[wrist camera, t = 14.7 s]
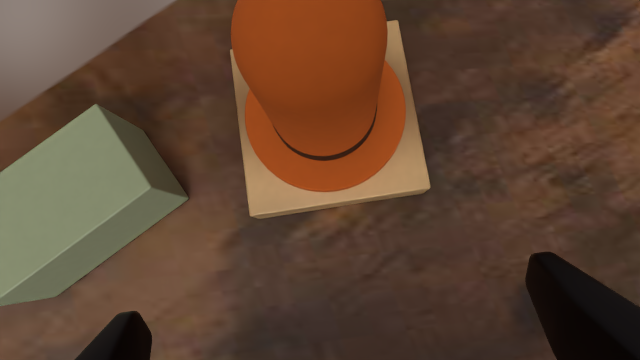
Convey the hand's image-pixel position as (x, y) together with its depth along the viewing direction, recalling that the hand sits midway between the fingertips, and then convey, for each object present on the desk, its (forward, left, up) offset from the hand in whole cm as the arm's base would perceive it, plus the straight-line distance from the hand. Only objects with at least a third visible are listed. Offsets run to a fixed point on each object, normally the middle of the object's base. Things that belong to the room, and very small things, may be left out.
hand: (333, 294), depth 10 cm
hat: (+4, -7, -11) cm, 13 cm away
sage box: (+14, +3, -13) cm, 19 cm away
